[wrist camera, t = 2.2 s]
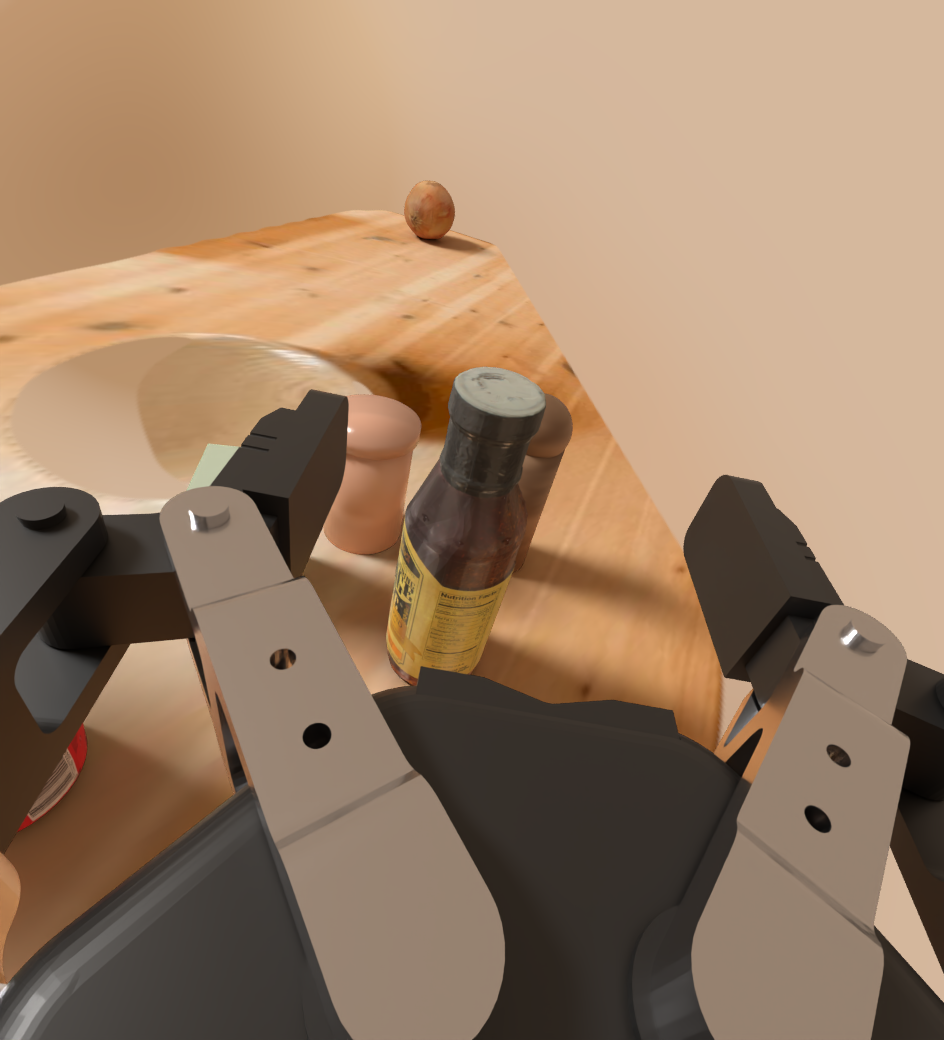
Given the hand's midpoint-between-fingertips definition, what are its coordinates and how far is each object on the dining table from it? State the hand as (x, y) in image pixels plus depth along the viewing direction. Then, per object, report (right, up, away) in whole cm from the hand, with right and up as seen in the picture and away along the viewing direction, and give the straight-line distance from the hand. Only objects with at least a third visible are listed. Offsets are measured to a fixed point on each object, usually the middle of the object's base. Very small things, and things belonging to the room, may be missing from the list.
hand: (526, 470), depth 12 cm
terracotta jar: (-10, -2, +32) cm, 34 cm away
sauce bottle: (-4, -10, +24) cm, 27 cm away
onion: (-10, +55, +99) cm, 113 cm away
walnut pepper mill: (+1, -4, +33) cm, 33 cm away
